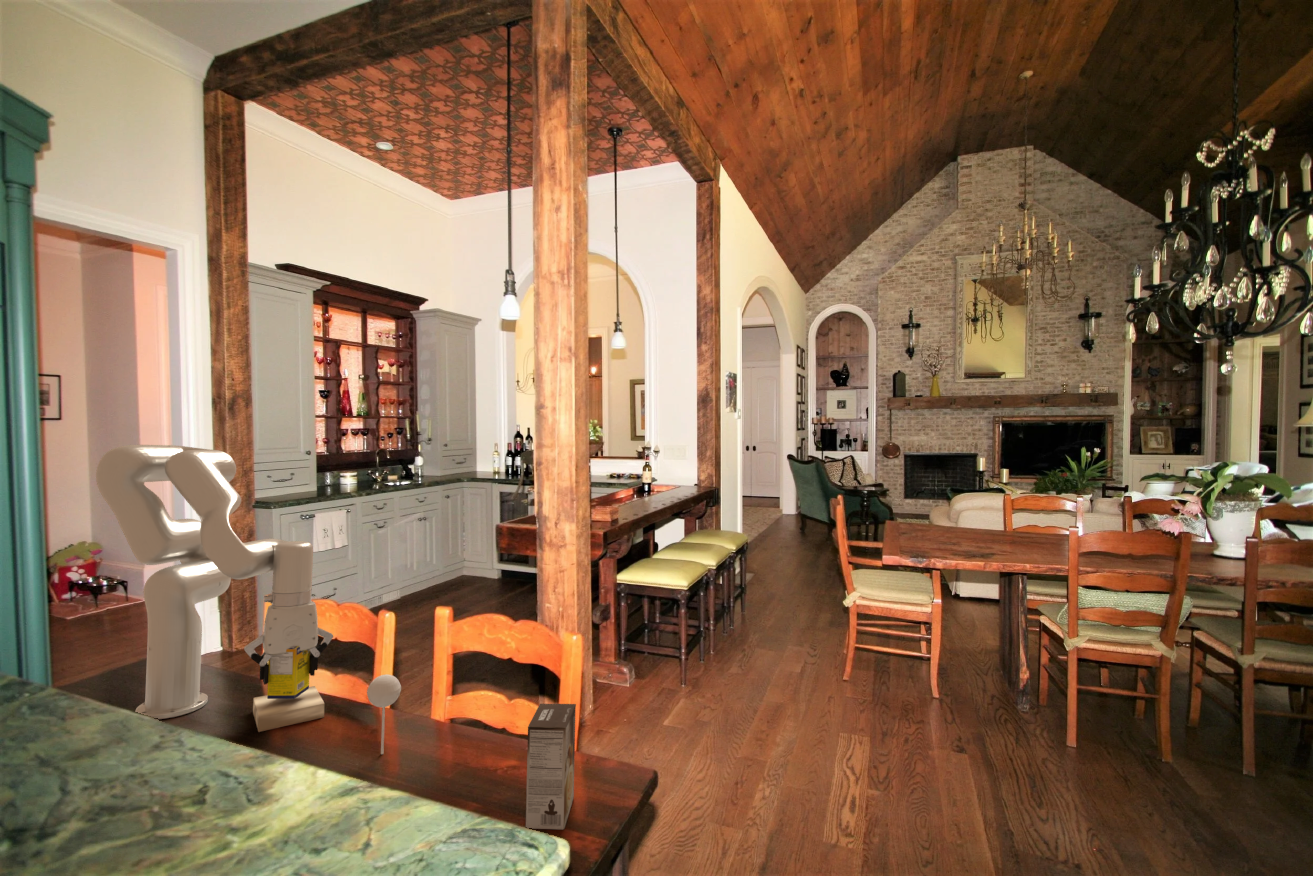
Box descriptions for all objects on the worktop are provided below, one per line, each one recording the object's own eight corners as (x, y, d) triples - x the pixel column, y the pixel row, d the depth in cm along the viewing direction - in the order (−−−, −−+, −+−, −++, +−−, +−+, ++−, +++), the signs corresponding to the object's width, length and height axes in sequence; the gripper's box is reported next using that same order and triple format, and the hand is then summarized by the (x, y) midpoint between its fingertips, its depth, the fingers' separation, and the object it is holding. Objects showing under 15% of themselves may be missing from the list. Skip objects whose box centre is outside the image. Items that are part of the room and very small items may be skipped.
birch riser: (252, 711, 134) (253, 698, 134) (314, 699, 142) (314, 686, 142) (258, 732, 125) (258, 717, 125) (323, 717, 132) (324, 703, 132)
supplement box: (309, 688, 137) (311, 639, 137) (294, 699, 131) (296, 648, 131) (282, 688, 136) (284, 639, 137) (266, 699, 130) (268, 648, 131)
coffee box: (537, 796, 104) (539, 701, 104) (574, 797, 104) (576, 702, 104) (524, 829, 95) (527, 725, 95) (565, 831, 95) (567, 727, 95)
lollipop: (406, 749, 119) (408, 672, 119) (383, 764, 113) (386, 683, 114) (380, 744, 121) (383, 668, 121) (357, 758, 115) (360, 678, 116)
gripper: (245, 607, 126) (242, 692, 125) (339, 596, 136) (336, 675, 136) (242, 600, 131) (239, 681, 131) (332, 590, 142) (329, 665, 142)
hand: (288, 677), depth 134 cm, fingers closed on supplement box, 8 cm apart
